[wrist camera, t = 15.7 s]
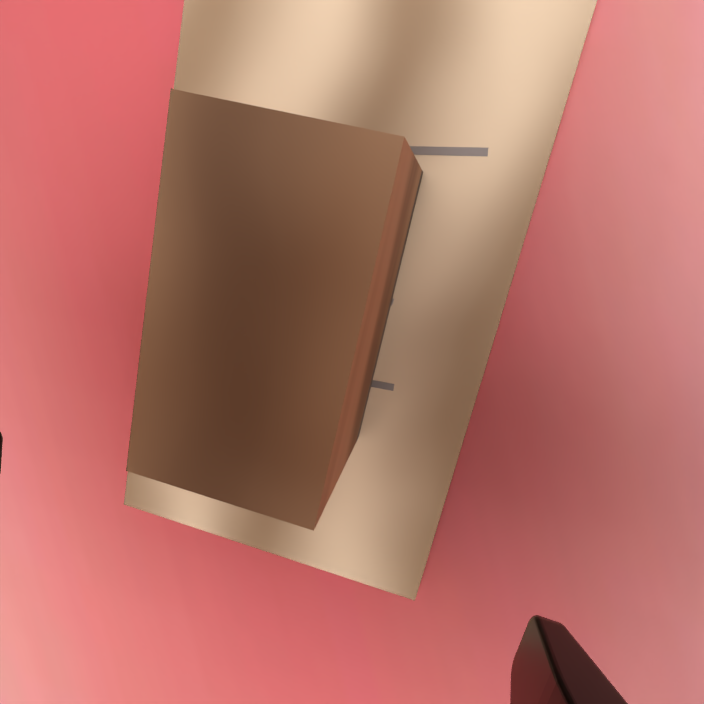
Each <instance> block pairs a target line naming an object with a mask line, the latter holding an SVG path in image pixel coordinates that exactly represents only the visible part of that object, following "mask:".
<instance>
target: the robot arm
mask: <svg viewBox="0 0 704 704" xmlns="http://www.w3.org/2000/svg"><path fill="white" fill-rule="evenodd" d="M2 441H3V438H2V434H1V432H0V472H1V457H2ZM510 704H628V703H627V702H626V701H625V700H624V699H623V697H622V696H621V695H620V694H619V692H618V691H617V690H616V689H615V688H614V686H613V685H612V684H611V683H610V681H609V680H608V679H607V678H606V676H605V675H604V674H603V673H602V672H601V670H600V669H599V668H598V667H597V665H596V664H595V663H594V662H593V661H592V659H591V658H590V657H589V656H588V654H587V653H586V652H585V651H584V650H583V648H582V647H581V646H580V645H579V643H578V642H577V641H576V640H575V638H574V637H573V636H572V635H571V634H570V632H569V631H568V630H567V629H566V628H565V626H564V625H562V624H561V623H559V622H556V621H553V620H550V619H547V618H544V617H541V616H538V615H536V616H533V617H532V618H531V619H530V621H529V622H528V625H527V627H526V630H525V632H524V635H523V637H522V640H521V642H520V645H519V647H518V650H517V652H516V655H515V657H514V661H513V665H512V671H511V703H510Z"/></svg>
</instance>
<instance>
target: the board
mask: <svg viewBox="0 0 704 704" xmlns="http://www.w3.org/2000/svg"><path fill="white" fill-rule="evenodd" d="M596 2H597V0H184V7H183V15H182V24H181V32H180V40H179V49H178V57H177V66H176V74H175V82H174V89H176V90H180V91H185V92H190V93H195V94H200V95H205V96H210V97H214V98H219V99H224V100H229V101H234V102H239V103H244V104H249V105H253V106H258V107H263V108H268V109H273V110H278V111H283V112H287V113H292V114H297V115H302V116H307V117H312V118H317V119H321V120H326V121H331V122H336V123H341V124H346V125H351V126H355V127H360V128H365V129H370V130H375V131H380V132H385V133H389V134H394V135H399V136H404V137H405V138H406V140H407V142H408V144H409V146H410V148H411V150H412V152H413V154H414V156H415V158H416V159H417V161H418V163H419V165H420V167H421V169H422V171H423V175H422V179H421V183H420V187H419V192H418V196H417V200H416V204H415V208H414V212H413V216H412V220H411V224H410V229H409V233H408V237H407V241H406V245H405V249H404V253H403V257H402V261H401V266H400V270H399V274H398V278H397V282H396V286H395V290H394V294H393V298H392V303H391V307H390V311H389V315H388V319H387V323H386V327H385V331H384V335H383V340H382V344H381V348H380V352H379V356H378V360H377V364H376V368H375V372H374V377H373V381H372V385H371V389H370V393H369V397H368V401H367V405H366V409H365V413H364V418H363V422H362V426H361V430H360V434H359V438H358V440H357V442H356V444H355V446H354V448H353V450H352V452H351V454H350V456H349V458H348V460H347V463H346V465H345V467H344V469H343V471H342V473H341V475H340V477H339V479H338V481H337V483H336V485H335V488H334V490H333V492H332V494H331V496H330V498H329V500H328V502H327V504H326V506H325V508H324V510H323V513H322V515H321V517H320V519H319V521H318V523H317V525H316V527H315V529H314V531H313V530H310V529H307V528H303V527H300V526H297V525H294V524H291V523H288V522H285V521H281V520H278V519H275V518H272V517H269V516H266V515H263V514H260V513H256V512H253V511H250V510H247V509H244V508H241V507H238V506H234V505H231V504H228V503H225V502H222V501H219V500H216V499H213V498H209V497H206V496H203V495H200V494H197V493H194V492H191V491H187V490H184V489H181V488H178V487H175V486H172V485H169V484H166V483H162V482H159V481H156V480H153V479H150V478H147V477H144V476H140V475H137V474H134V473H131V472H128V475H127V483H126V491H125V500H124V505H127V506H130V507H133V508H136V509H139V510H142V511H146V512H149V513H152V514H155V515H158V516H161V517H164V518H167V519H170V520H173V521H176V522H179V523H182V524H185V525H188V526H191V527H194V528H197V529H200V530H203V531H206V532H209V533H212V534H215V535H218V536H221V537H224V538H227V539H230V540H233V541H236V542H239V543H242V544H245V545H248V546H251V547H254V548H257V549H260V550H263V551H266V552H270V553H273V554H276V555H279V556H282V557H285V558H288V559H291V560H294V561H297V562H300V563H303V564H306V565H309V566H312V567H315V568H318V569H321V570H324V571H327V572H330V573H333V574H336V575H339V576H342V577H345V578H348V579H351V580H354V581H357V582H360V583H363V584H366V585H369V586H372V587H375V588H378V589H381V590H384V591H387V592H390V593H393V594H397V595H400V596H403V597H406V598H409V599H412V600H415V598H416V595H417V592H418V588H419V585H420V582H421V579H422V575H423V572H424V569H425V565H426V562H427V559H428V556H429V552H430V549H431V546H432V542H433V539H434V536H435V532H436V529H437V526H438V523H439V519H440V516H441V513H442V509H443V506H444V503H445V500H446V496H447V493H448V490H449V486H450V483H451V480H452V477H453V473H454V470H455V467H456V463H457V460H458V457H459V453H460V450H461V447H462V444H463V440H464V437H465V434H466V430H467V427H468V424H469V421H470V417H471V414H472V411H473V407H474V404H475V401H476V398H477V394H478V391H479V388H480V384H481V381H482V378H483V374H484V371H485V368H486V365H487V361H488V358H489V355H490V351H491V348H492V345H493V342H494V338H495V335H496V332H497V328H498V325H499V322H500V319H501V315H502V312H503V309H504V305H505V302H506V299H507V295H508V292H509V289H510V286H511V282H512V279H513V276H514V272H515V269H516V266H517V263H518V259H519V256H520V253H521V249H522V246H523V243H524V240H525V236H526V233H527V230H528V226H529V223H530V220H531V216H532V213H533V210H534V207H535V203H536V200H537V197H538V193H539V190H540V187H541V184H542V180H543V177H544V174H545V170H546V167H547V164H548V160H549V157H550V154H551V151H552V147H553V144H554V141H555V137H556V134H557V131H558V128H559V124H560V121H561V118H562V114H563V111H564V108H565V105H566V101H567V98H568V95H569V91H570V88H571V85H572V81H573V78H574V75H575V72H576V68H577V65H578V62H579V58H580V55H581V52H582V49H583V45H584V42H585V39H586V35H587V32H588V29H589V26H590V22H591V19H592V16H593V12H594V9H595V6H596Z"/></svg>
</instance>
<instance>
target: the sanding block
mask: <svg viewBox="0 0 704 704" xmlns="http://www.w3.org/2000/svg"><path fill="white" fill-rule="evenodd" d="M422 175H423V171H422V169H421V167H420V165H419V163H418V161H417V159H416V158H415V156H414V154H413V152H412V150H411V148H410V146H409V144H408V142H407V140H406V138H405V137H404V136H399V135H394V134H389V133H385V132H380V131H375V130H370V129H365V128H360V127H355V126H351V125H346V124H341V123H336V122H331V121H326V120H321V119H317V118H312V117H307V116H302V115H297V114H292V113H287V112H283V111H278V110H273V109H268V108H263V107H258V106H253V105H249V104H244V103H239V102H234V101H229V100H224V99H219V98H214V97H210V96H205V95H200V94H195V93H190V92H185V91H180V90H176V89H171V92H170V100H169V109H168V118H167V126H166V135H165V143H164V152H163V160H162V169H161V177H160V186H159V194H158V203H157V212H156V220H155V229H154V237H153V246H152V254H151V263H150V271H149V280H148V288H147V297H146V306H145V314H144V323H143V331H142V340H141V348H140V357H139V365H138V374H137V382H136V391H135V400H134V408H133V417H132V425H131V434H130V442H129V451H128V459H127V468H126V471H128V472H131V473H134V474H137V475H140V476H144V477H147V478H150V479H153V480H156V481H159V482H162V483H166V484H169V485H172V486H175V487H178V488H181V489H184V490H187V491H191V492H194V493H197V494H200V495H203V496H206V497H209V498H213V499H216V500H219V501H222V502H225V503H228V504H231V505H234V506H238V507H241V508H244V509H247V510H250V511H253V512H256V513H260V514H263V515H266V516H269V517H272V518H275V519H278V520H281V521H285V522H288V523H291V524H294V525H297V526H300V527H303V528H307V529H310V530H313V531H314V529H315V527H316V525H317V523H318V521H319V519H320V517H321V515H322V513H323V510H324V508H325V506H326V504H327V502H328V500H329V498H330V496H331V494H332V492H333V490H334V488H335V485H336V483H337V481H338V479H339V477H340V475H341V473H342V471H343V469H344V467H345V465H346V463H347V460H348V458H349V456H350V454H351V452H352V450H353V448H354V446H355V444H356V442H357V440H358V438H359V434H360V430H361V426H362V422H363V418H364V413H365V409H366V405H367V401H368V397H369V393H370V389H371V385H372V381H373V377H374V372H375V368H376V364H377V360H378V356H379V352H380V348H381V344H382V340H383V335H384V331H385V327H386V323H387V319H388V315H389V311H390V307H391V303H392V298H393V294H394V290H395V286H396V282H397V278H398V274H399V270H400V266H401V261H402V257H403V253H404V249H405V245H406V241H407V237H408V233H409V229H410V224H411V220H412V216H413V212H414V208H415V204H416V200H417V196H418V192H419V187H420V183H421V179H422Z"/></svg>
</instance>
